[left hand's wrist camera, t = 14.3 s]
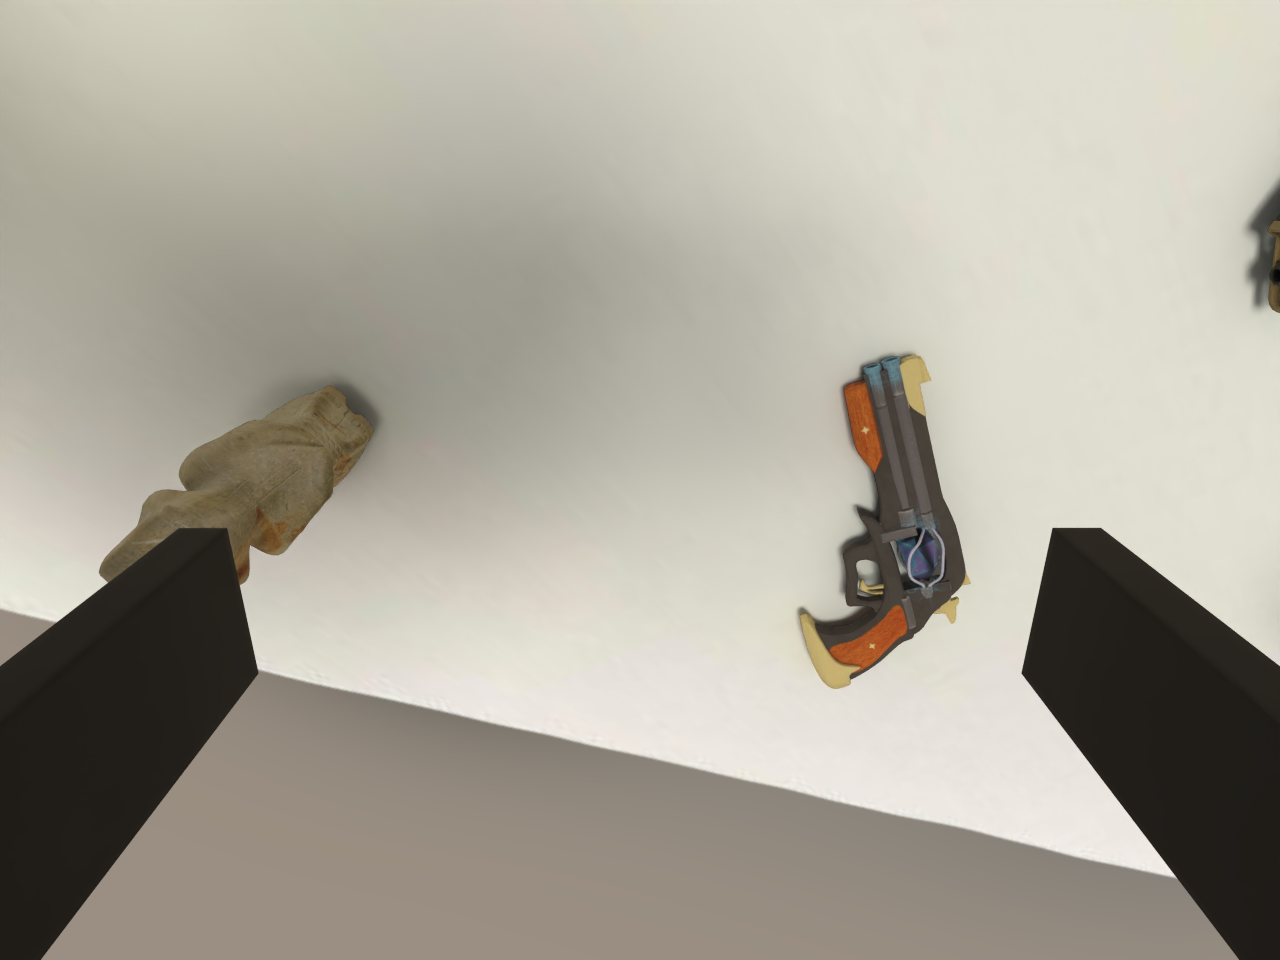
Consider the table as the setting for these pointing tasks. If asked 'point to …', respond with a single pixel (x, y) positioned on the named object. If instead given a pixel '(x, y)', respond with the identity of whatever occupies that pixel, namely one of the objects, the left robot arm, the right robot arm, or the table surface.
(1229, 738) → the left robot arm
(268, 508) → the sculpture
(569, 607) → the table surface
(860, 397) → the toy gun
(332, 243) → the table surface
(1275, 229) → the spray gun
